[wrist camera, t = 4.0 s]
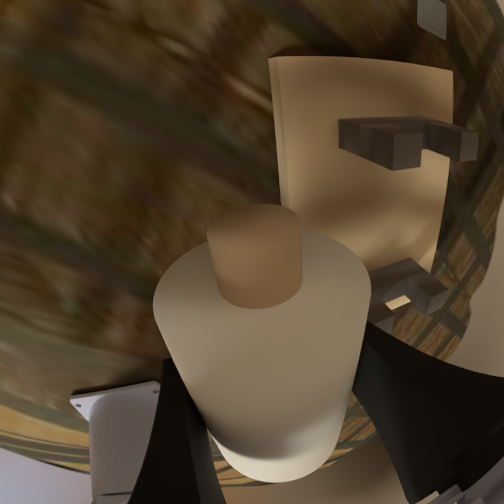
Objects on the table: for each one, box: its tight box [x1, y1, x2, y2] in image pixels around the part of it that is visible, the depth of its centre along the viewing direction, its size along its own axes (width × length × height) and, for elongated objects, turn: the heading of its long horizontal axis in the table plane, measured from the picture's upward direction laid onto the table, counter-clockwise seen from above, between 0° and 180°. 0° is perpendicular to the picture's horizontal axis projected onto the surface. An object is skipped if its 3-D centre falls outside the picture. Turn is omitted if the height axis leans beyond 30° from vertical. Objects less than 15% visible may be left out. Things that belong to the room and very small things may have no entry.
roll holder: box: [268, 56, 479, 333], centre depth 17 cm, size 19×13×6 cm
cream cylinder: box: [153, 204, 371, 482], centre depth 10 cm, size 11×5×5 cm, turn 7°
